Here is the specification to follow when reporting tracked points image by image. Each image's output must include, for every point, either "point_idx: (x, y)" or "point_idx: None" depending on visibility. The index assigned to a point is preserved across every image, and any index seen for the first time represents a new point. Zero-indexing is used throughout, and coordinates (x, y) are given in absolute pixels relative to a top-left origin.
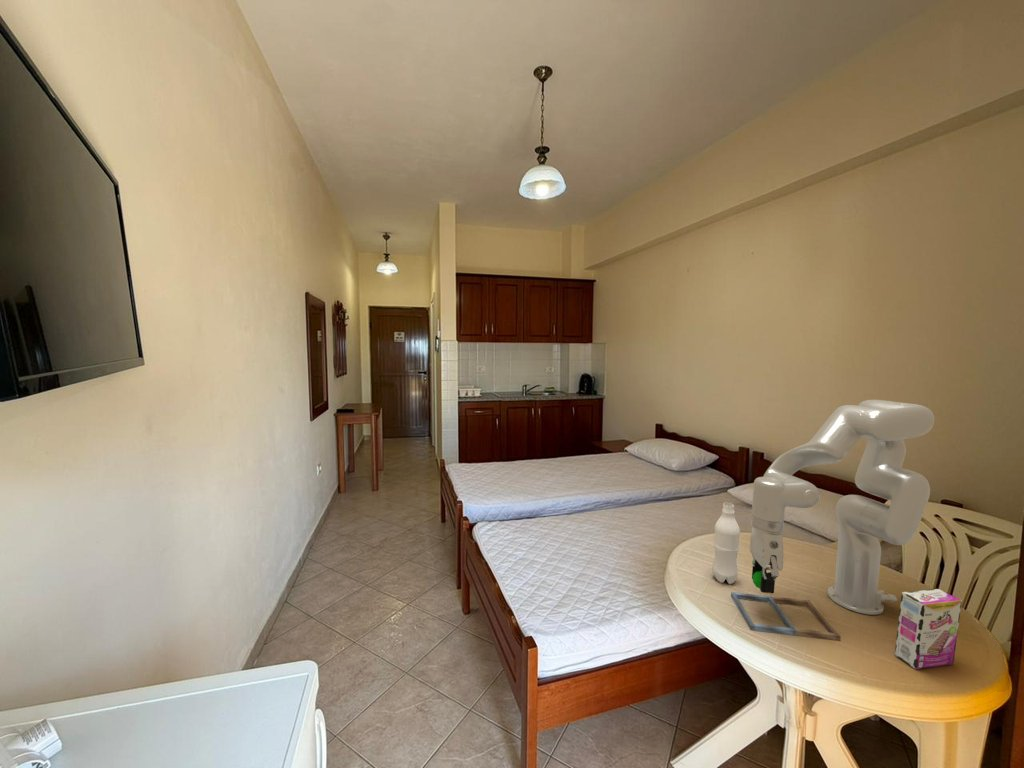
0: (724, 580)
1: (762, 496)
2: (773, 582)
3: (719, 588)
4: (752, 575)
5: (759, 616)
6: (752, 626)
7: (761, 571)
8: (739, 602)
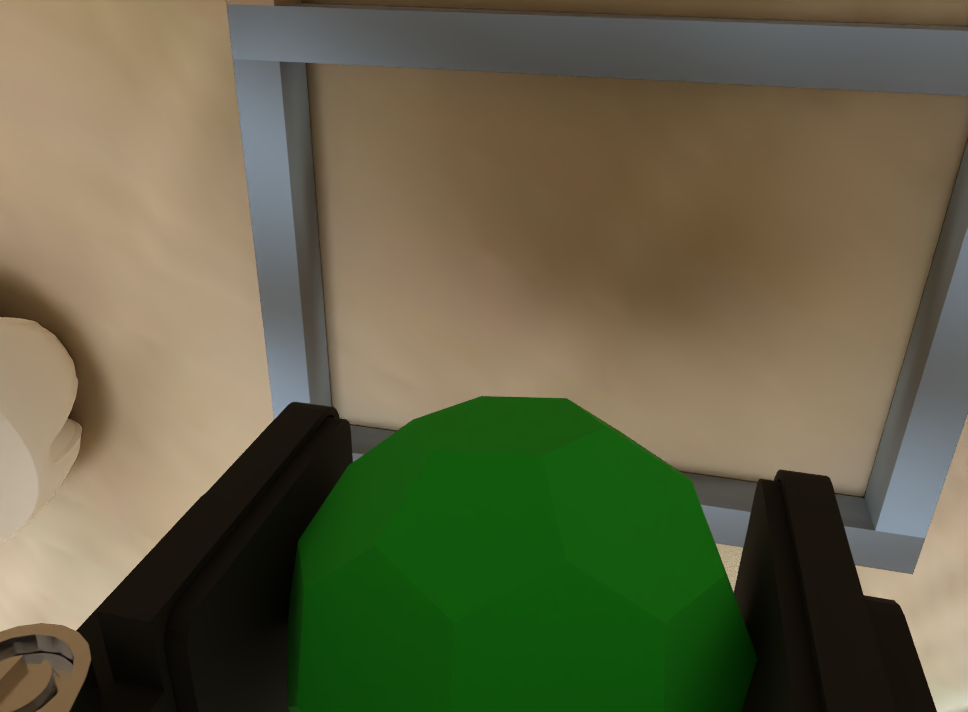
0: (71, 445)
1: None
2: (872, 703)
3: (194, 493)
4: None
5: (642, 328)
6: (916, 556)
7: None
8: None
